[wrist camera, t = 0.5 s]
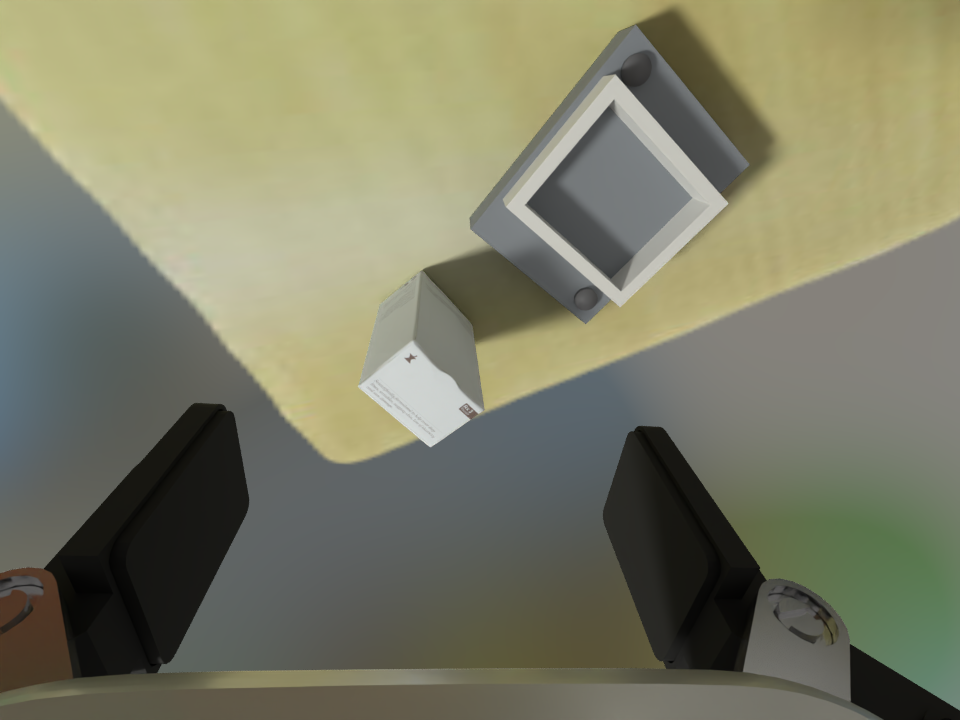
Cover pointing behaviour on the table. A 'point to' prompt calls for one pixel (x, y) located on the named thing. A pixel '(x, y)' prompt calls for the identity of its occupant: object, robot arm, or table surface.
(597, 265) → the grey box holder
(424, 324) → the skincare box
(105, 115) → the table surface
